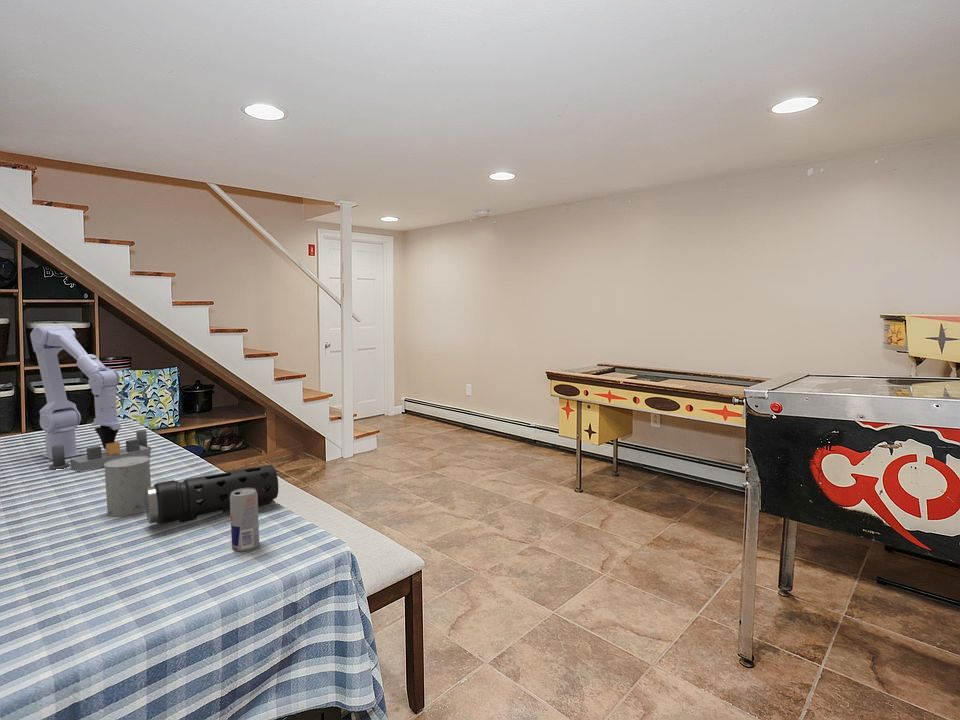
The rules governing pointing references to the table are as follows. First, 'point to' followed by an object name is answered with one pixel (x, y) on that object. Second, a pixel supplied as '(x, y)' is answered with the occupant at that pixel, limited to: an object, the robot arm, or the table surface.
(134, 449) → the box
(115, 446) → the switch
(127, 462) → the concrete cylinder
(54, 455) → the grey disc-based knob
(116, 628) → the table surface
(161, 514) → the muzzle brake
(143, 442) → the post
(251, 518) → the energy drink
